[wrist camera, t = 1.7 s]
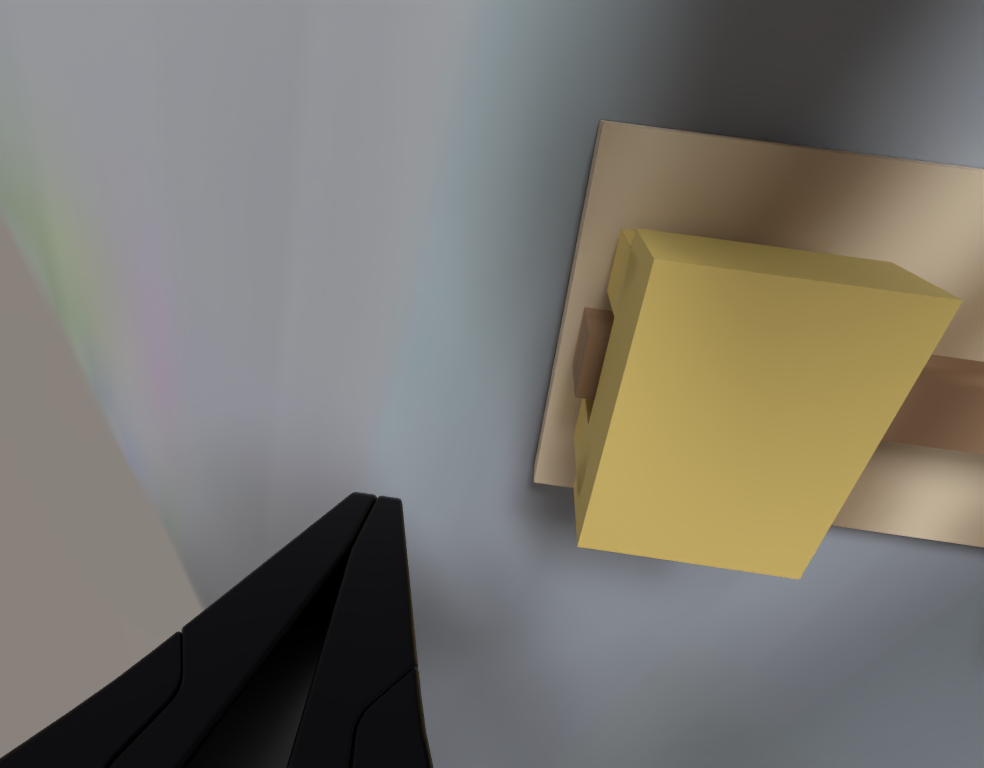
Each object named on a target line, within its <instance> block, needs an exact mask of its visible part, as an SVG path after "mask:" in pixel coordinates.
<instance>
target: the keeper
mask: <svg viewBox="0 0 984 768" xmlns="http://www.w3.org/2000/svg"><path fill="white" fill-rule="evenodd" d="M607 293H608V296H609V300H610V304H611V307H612V311H613V314H614V321H613V325H612V330H611V334H610V338H609V342H608V346H607V350H606V354H605V358H604V362H603V367H602V371H601V375H600V379H599V383H598V387H597V391H596V395H595V400H591V399H583V398H582V402H581V406H580V411H579V415H578V419H577V424H576V428H575V433H574V446H575V460H576V473H577V474H576V478H575V482H574V502H575V518H576V533H577V547H583V548H590V549H596V550H603V551H610V552H617V553H623V554H630V555H637V556H644V557H651V558H657V559H664V560H671V561H678V562H685V563H691V564H698V565H705V566H712V567H719V568H725V569H732V570H739V571H746V572H753V573H759V574H766V575H773V576H780V577H787V578H793V579H800V577H801V576H802V574H803V572H804V571H805V569H806V567H807V565H808V564H809V562H810V560H811V559H812V557H813V555H814V554H815V552H816V550H817V548H818V547H819V545H820V543H821V542H822V540H823V538H824V537H825V535H826V533H827V531H828V530H829V528H830V526H831V525H832V523H833V521H834V520H835V518H836V516H837V514H838V513H839V511H840V509H841V508H842V506H843V504H844V503H845V501H846V499H847V497H848V496H849V494H850V492H851V491H852V489H853V487H854V486H855V484H856V482H857V480H858V479H859V477H860V475H861V474H862V472H863V470H864V469H865V467H866V465H867V463H868V462H869V460H870V458H871V457H872V455H873V453H874V452H875V450H876V448H877V446H878V445H879V443H880V441H881V440H882V438H883V436H884V435H885V433H886V431H887V429H888V428H889V426H890V424H891V423H892V421H893V419H894V418H895V416H896V414H897V412H898V411H899V409H900V407H901V406H902V404H903V402H904V401H905V399H906V397H907V395H908V394H909V392H910V390H911V389H912V387H913V385H914V383H915V382H916V380H917V378H918V377H919V375H920V373H921V372H922V370H923V368H924V366H925V365H926V363H927V361H928V360H929V358H930V356H931V355H932V353H933V351H934V349H935V348H936V346H937V344H938V343H939V341H940V339H941V338H942V336H943V334H944V332H945V331H946V329H947V327H948V326H949V324H950V322H951V321H952V319H953V317H954V315H955V314H956V312H957V310H958V309H959V307H960V305H961V304H962V302H963V300H962V299H960V298H958V297H956V296H954V295H952V294H950V293H948V292H947V291H945V290H943V289H941V288H939V287H937V286H935V285H934V284H932V283H930V282H928V281H926V280H924V279H922V278H920V277H919V276H917V275H915V274H913V273H911V272H909V271H907V270H905V269H904V268H902V267H900V266H898V265H896V264H894V263H892V262H887V261H880V260H872V259H865V258H857V257H850V256H842V255H835V254H827V253H820V252H812V251H805V250H797V249H790V248H782V247H775V246H767V245H760V244H752V243H745V242H737V241H729V240H722V239H714V238H707V237H699V236H692V235H684V234H677V233H669V232H662V231H654V230H647V229H639V228H636V231H635V230H627V229H621V232H620V236H619V241H618V245H617V249H616V254H615V258H614V262H613V267H612V271H611V276H610V280H609V284H608V289H607Z"/></svg>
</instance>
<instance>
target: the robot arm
mask: <svg viewBox="0 0 984 768" xmlns="http://www.w3.org/2000/svg"><path fill="white" fill-rule="evenodd" d="M0 768H433V763H432V758H431V753H430V749H429V744H428V739H427V734H426V728H425V720H424V713H423V706H422V698H421V689H420V679H419V671H418V661H417V650H416V640H415V630H414V620H413V609H412V599H411V589H410V579H409V568H408V558H407V548H406V538H405V527H404V517H403V507H402V501H401V499H399V498H393V497H387V496H379V497H378V498H377V497H376V496H375V495H373V494H366V493H360V492H354V493H352V494H350V495H349V496H348V497H346V498H345V499H344V500H343V501H341V502H340V503H339V504H338V505H336V506H335V507H334V508H333V509H331V510H330V511H329V512H328V513H326V514H325V515H324V516H322V517H321V518H320V519H319V520H317V521H316V522H315V523H314V524H312V525H311V526H310V527H309V528H307V529H306V530H305V531H304V532H302V533H301V534H300V535H299V536H297V537H296V538H295V539H293V540H292V541H291V542H290V543H288V544H287V545H286V546H285V547H283V548H282V549H281V550H280V551H278V552H277V553H276V554H275V555H273V556H272V557H271V558H270V559H268V560H267V561H266V562H264V563H263V564H262V565H261V566H259V567H258V568H257V569H256V570H254V571H253V572H252V573H251V574H249V575H248V576H247V577H246V578H244V579H243V580H242V581H241V582H239V583H238V584H237V585H236V586H234V587H233V588H232V589H230V590H229V591H228V592H227V593H225V594H224V595H223V596H222V597H220V598H219V599H218V600H217V601H215V602H214V603H213V604H212V605H210V606H209V607H208V608H207V609H205V610H204V611H203V612H201V613H200V614H199V615H198V616H196V617H195V618H194V619H193V620H191V621H190V622H189V623H188V624H186V625H185V626H184V627H183V628H182V633H181V632H176V633H175V634H173V635H172V636H171V637H170V638H169V639H167V640H166V641H165V642H163V643H162V644H161V645H160V646H158V647H157V648H156V649H155V650H153V651H152V652H151V653H149V654H148V655H147V656H145V657H144V658H143V659H141V660H140V661H139V662H137V663H136V664H135V665H133V666H132V667H131V668H130V669H128V670H127V671H126V672H124V673H123V674H122V675H120V676H119V677H118V678H116V679H115V680H114V681H112V682H111V683H109V684H108V685H106V686H105V687H104V688H102V689H101V690H99V691H98V692H97V693H95V694H94V695H92V696H91V697H89V698H88V699H87V700H85V701H84V702H83V703H81V704H79V705H78V706H77V707H75V708H74V709H72V710H71V711H69V712H68V713H66V714H65V715H64V716H62V717H61V718H59V719H58V720H56V721H55V722H53V723H52V724H50V725H49V726H47V727H46V728H44V729H43V730H41V731H40V732H38V733H37V734H35V735H34V736H33V737H31V738H30V739H28V740H27V741H25V742H24V743H22V744H21V745H19V746H18V747H16V748H15V749H13V750H12V751H10V752H9V753H7V754H6V755H4V756H3V757H2V758H0Z"/></svg>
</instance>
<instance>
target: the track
mask: <svg viewBox="0 0 984 768" xmlns="http://www.w3.org/2000/svg"><path fill="white" fill-rule="evenodd" d="M636 228H639V229H647V230H654V231H662V232H669V233H677V234H684V235H692V236H699V237H707V238H714V239H722V240H729V241H737V242H745V243H752V244H760V245H767V246H775V247H782V248H790V249H797V250H805V251H812V252H820V253H827V254H835V255H842V256H850V257H857V258H865V259H872V260H880V261H887V262H892V263H894V264H896V265H898V266H900V267H902V268H904V269H905V270H907V271H909V272H911V273H913V274H915V275H917V276H919V277H920V278H922V279H924V280H926V281H928V282H930V283H932V284H934V285H935V286H937V287H939V288H941V289H943V290H945V291H947V292H948V293H950V294H952V295H954V296H956V297H958V298H960V299H962V300H963V302H962V304H961V305H960V307H959V309H958V310H957V312H956V314H955V315H954V317H953V319H952V321H951V322H950V324H949V326H948V327H947V329H946V331H945V332H944V334H943V336H942V338H941V339H940V341H939V343H938V344H937V346H936V348H935V349H934V351H933V353H932V355H931V356H930V358H929V360H928V361H927V363H926V365H925V366H924V368H923V370H922V372H921V373H920V375H919V377H918V378H917V380H916V382H915V383H914V385H913V387H912V389H911V390H910V392H909V394H908V395H907V397H906V399H905V401H904V402H903V404H902V406H901V407H900V409H899V411H898V412H897V414H896V416H895V418H894V419H893V421H892V423H891V424H890V426H889V428H888V429H887V431H886V433H885V435H884V436H883V438H882V440H881V441H880V443H879V445H878V446H877V448H876V450H875V452H874V453H873V455H872V457H871V458H870V460H869V462H868V463H867V465H866V467H865V469H864V470H863V472H862V474H861V475H860V477H859V479H858V480H857V482H856V484H855V486H854V487H853V489H852V491H851V492H850V494H849V496H848V497H847V499H846V501H845V503H844V504H843V506H842V508H841V509H840V511H839V513H838V514H837V516H836V518H835V520H834V521H833V523H832V526H839V527H846V528H853V529H860V530H867V531H874V532H881V533H888V534H894V535H901V536H908V537H915V538H922V539H929V540H936V541H943V542H950V543H957V544H964V545H971V546H977V547H984V169H979V168H971V167H963V166H956V165H948V164H940V163H932V162H925V161H917V160H909V159H901V158H893V157H886V156H878V155H870V154H862V153H855V152H847V151H839V150H831V149H823V148H816V147H808V146H800V145H792V144H785V143H777V142H769V141H761V140H753V139H746V138H738V137H730V136H722V135H715V134H707V133H699V132H691V131H683V130H676V129H668V128H660V127H652V126H645V125H637V124H629V123H621V122H613V121H606V120H600V123H599V128H598V133H597V138H596V144H595V149H594V154H593V160H592V165H591V170H590V175H589V181H588V186H587V191H586V196H585V202H584V207H583V212H582V217H581V223H580V228H579V233H578V238H577V244H576V249H575V254H574V259H573V265H572V270H571V275H570V280H569V286H568V291H567V296H566V302H565V307H564V312H563V317H562V323H561V328H560V333H559V338H558V344H557V349H556V354H555V359H554V365H553V370H552V375H551V380H550V386H549V391H548V396H547V401H546V407H545V412H544V417H543V422H542V428H541V433H540V438H539V444H538V449H537V454H536V459H535V465H534V482H535V483H542V484H549V485H556V486H563V487H569V488H574V482H575V478H576V474H577V473H576V460H575V446H574V433H575V428H576V424H577V419H578V415H579V411H580V406H581V402H582V398H583V399H591V400H595V395H596V391H597V387H598V383H599V379H600V375H601V371H602V367H603V362H604V358H605V354H606V350H607V346H608V342H609V338H610V334H611V330H612V325H613V321H614V314H613V311H612V307H611V304H610V300H609V296H608V293H607V289H608V284H609V280H610V276H611V271H612V267H613V262H614V258H615V254H616V249H617V245H618V241H619V236H620V232H621V229H627V230H635V231H636Z"/></svg>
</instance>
